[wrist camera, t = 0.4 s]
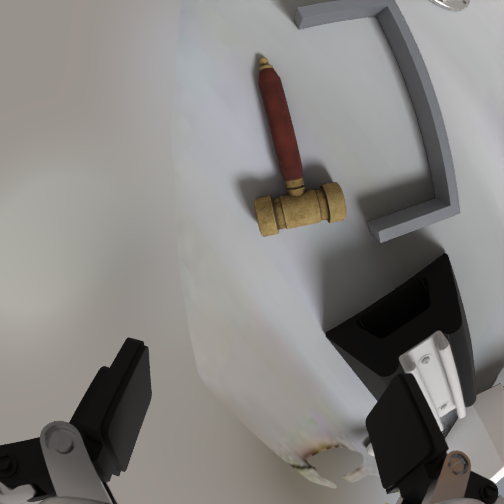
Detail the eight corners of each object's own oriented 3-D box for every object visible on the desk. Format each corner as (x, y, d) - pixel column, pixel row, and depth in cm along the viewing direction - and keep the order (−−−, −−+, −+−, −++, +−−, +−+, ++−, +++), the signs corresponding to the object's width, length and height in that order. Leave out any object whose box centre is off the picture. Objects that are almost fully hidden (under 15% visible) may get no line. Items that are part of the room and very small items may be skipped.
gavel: (217, 61, 26) (307, 44, 25) (223, 72, 30) (302, 56, 29) (262, 241, 32) (349, 223, 31) (262, 231, 37) (339, 215, 36)
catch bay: (381, 6, 24) (392, -5, 20) (444, 205, 34) (460, 213, 30) (294, 20, 26) (297, 7, 22) (370, 232, 36) (380, 242, 32)
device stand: (444, 251, 37) (502, 302, 23) (468, 336, 43) (504, 386, 29) (324, 332, 43) (343, 408, 29) (375, 396, 49) (394, 456, 35)
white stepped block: (462, 451, 66) (479, 497, 43) (422, 467, 68) (437, 518, 45) (512, 376, 49) (548, 434, 26) (467, 397, 51) (501, 467, 28)
